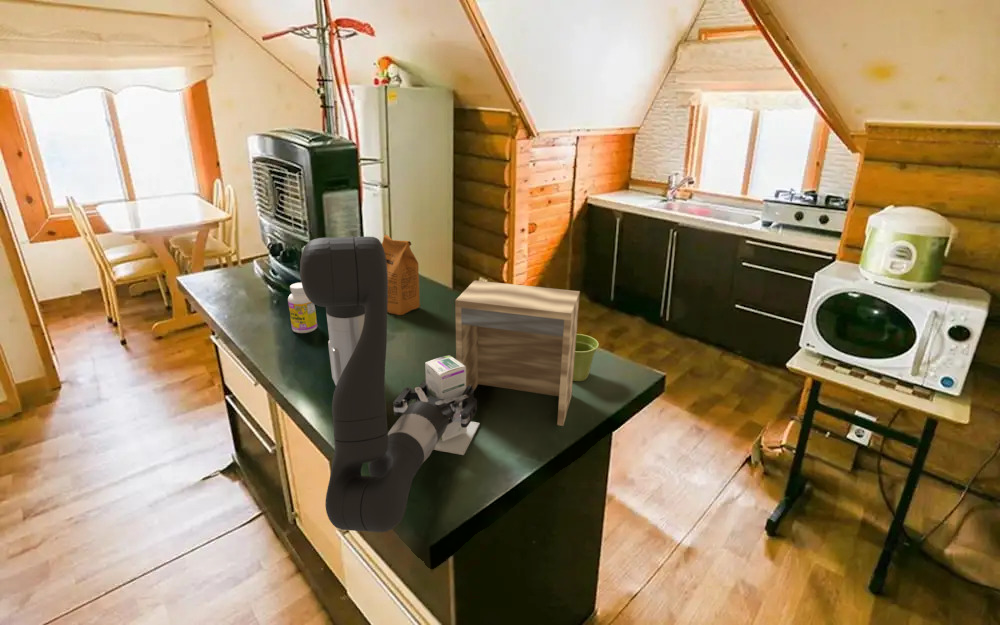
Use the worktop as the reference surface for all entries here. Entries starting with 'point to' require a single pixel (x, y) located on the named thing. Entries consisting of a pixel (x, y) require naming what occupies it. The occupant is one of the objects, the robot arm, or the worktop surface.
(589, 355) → the plant pot
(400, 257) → the coffee package
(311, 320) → the supplement bottle
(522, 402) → the worktop surface
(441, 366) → the syrup box
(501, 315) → the hutch
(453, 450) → the mat
